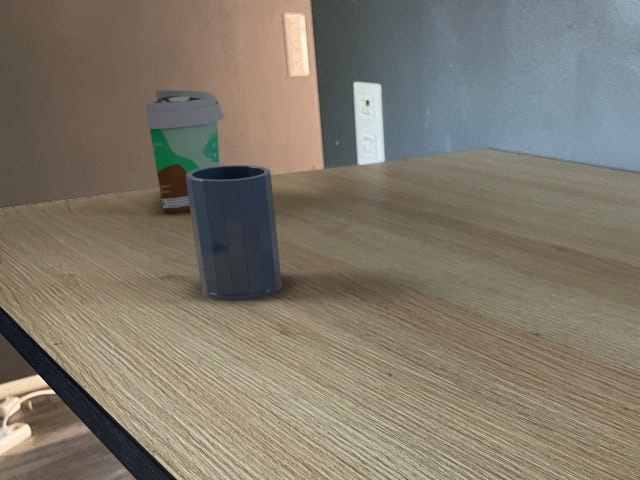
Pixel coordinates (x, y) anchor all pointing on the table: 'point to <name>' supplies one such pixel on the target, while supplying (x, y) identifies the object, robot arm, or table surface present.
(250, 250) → the cup
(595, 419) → the table surface
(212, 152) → the food container
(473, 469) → the table surface
